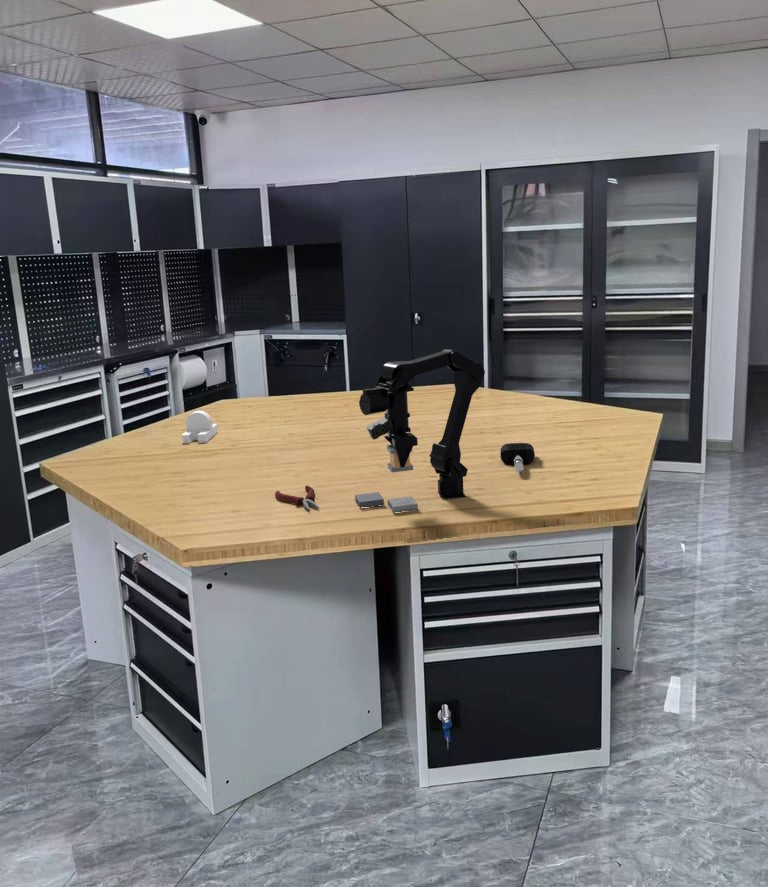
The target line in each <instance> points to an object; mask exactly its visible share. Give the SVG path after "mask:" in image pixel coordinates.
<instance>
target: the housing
mask: <svg viewBox="0 0 768 887" xmlns="http://www.w3.org/2000/svg"><path fill="white" fill-rule="evenodd" d="M386 450H387V452H388V453H389V461H390V463H388V462H387V468H388V470H389V471H390V473H399V472H409V471H414V465H413V463H411V459H410V458H411V456H410V455H409V457H408V460H407V462H406V464H405V467H400V463H399V459H398V454H397V450H396V449H395V448H394V447H393V446H392V445H391V444H388V445H386ZM410 453H413V449H412V450H411V452H410Z"/></svg>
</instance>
